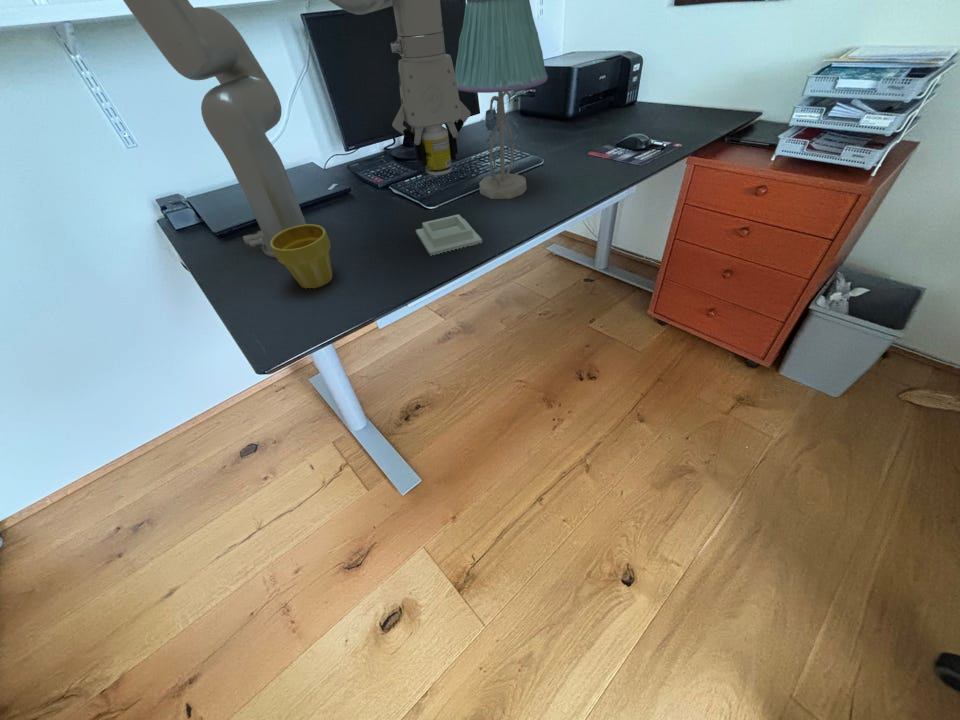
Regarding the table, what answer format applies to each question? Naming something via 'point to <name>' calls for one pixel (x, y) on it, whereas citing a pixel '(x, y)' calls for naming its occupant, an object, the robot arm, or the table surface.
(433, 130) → the supplement bottle
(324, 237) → the plant pot
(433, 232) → the socket holder
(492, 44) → the table lamp
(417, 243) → the table surface
